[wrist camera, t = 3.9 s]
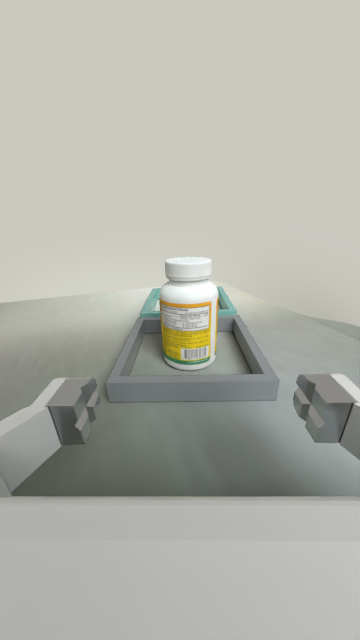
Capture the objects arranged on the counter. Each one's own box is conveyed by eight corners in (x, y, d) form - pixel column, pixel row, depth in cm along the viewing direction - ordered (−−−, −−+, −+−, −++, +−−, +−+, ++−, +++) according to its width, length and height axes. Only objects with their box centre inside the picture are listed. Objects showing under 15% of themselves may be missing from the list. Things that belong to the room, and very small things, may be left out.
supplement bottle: (196, 380, 19) (195, 267, 15) (152, 359, 22) (142, 262, 18) (226, 353, 23) (231, 257, 19) (185, 339, 26) (182, 254, 22)
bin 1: (141, 326, 30) (140, 313, 29) (153, 297, 41) (152, 288, 41) (235, 323, 29) (236, 311, 29) (221, 296, 41) (221, 286, 40)
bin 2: (109, 402, 17) (105, 383, 16) (139, 330, 28) (138, 317, 28) (276, 400, 16) (279, 380, 16) (238, 328, 28) (239, 315, 27)
